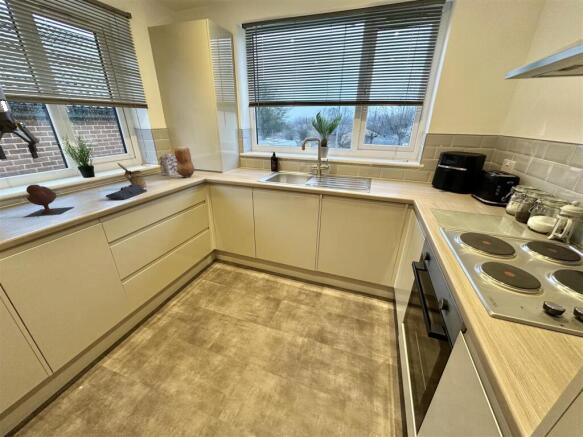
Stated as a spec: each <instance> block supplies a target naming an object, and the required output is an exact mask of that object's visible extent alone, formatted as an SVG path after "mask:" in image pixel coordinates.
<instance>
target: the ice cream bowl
mask: <svg viewBox="0 0 583 437" xmlns="http://www.w3.org/2000/svg"><path fill="white" fill-rule="evenodd" d="M26 193H27V194H28V195H27V196H25V198H26V200H27V201H28V202H30V203H31V204H33V205H36V206H42V207H43V209H45V210H44V211H43V212H41V214H49V213H53V212H55V210H53V209H51V208H50V206H49V205H50V204H52V203H53V202H54V201H55V200H56V199H57V193H56V192H55V191H53V190H52V189H51V188H50V187H47V186H44V185H39V184H29V185H28V186H27V187H26Z"/></svg>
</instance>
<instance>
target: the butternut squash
mask: <svg viewBox="0 0 583 437" xmlns="http://www.w3.org/2000/svg"><path fill="white" fill-rule="evenodd" d="M173 151H174V155H175V157H176V160H177V172H178V174H177V175H179V176H181V177H183V178H190V177H192V176H193V175H194V173H195V166H194V164H193V161H192V155H191V152H190V148H189V147H188V146H187V145H181V146H177V147H175V148H174V150H173Z"/></svg>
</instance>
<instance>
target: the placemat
mask: <svg viewBox="0 0 583 437" xmlns="http://www.w3.org/2000/svg"><path fill="white" fill-rule="evenodd" d="M73 208H75V206H65V207H54V208H53V207H52V208H50V209H53V210H55V212H53V213H49V214H41V212H43V211H44V210H45V208H41V209H39V210H36V211H33V212H32V213H30V214H27V215H25V216H23V217H22V219H23V218H36V217H49V216H60V215H63V214H64V213H66V212H68V211H70V210H72V209H73Z"/></svg>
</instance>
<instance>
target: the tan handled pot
mask: <svg viewBox="0 0 583 437" xmlns="http://www.w3.org/2000/svg"><path fill="white" fill-rule="evenodd" d="M116 164H117V165H118V166H119V167H120V168H121V169H122V170H123V171H124V177H125V179H127V180H128V182H130V185H131V184H135V185H140V186H142V188H143V189H144V188H146V187H147V183H146V181H145V179H144V176H143V173H142V171H141V170H133V171H131V170H129V169H128V168H126V167H125V166H124V165H123V164H122V163H119V162H117V163H116Z"/></svg>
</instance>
